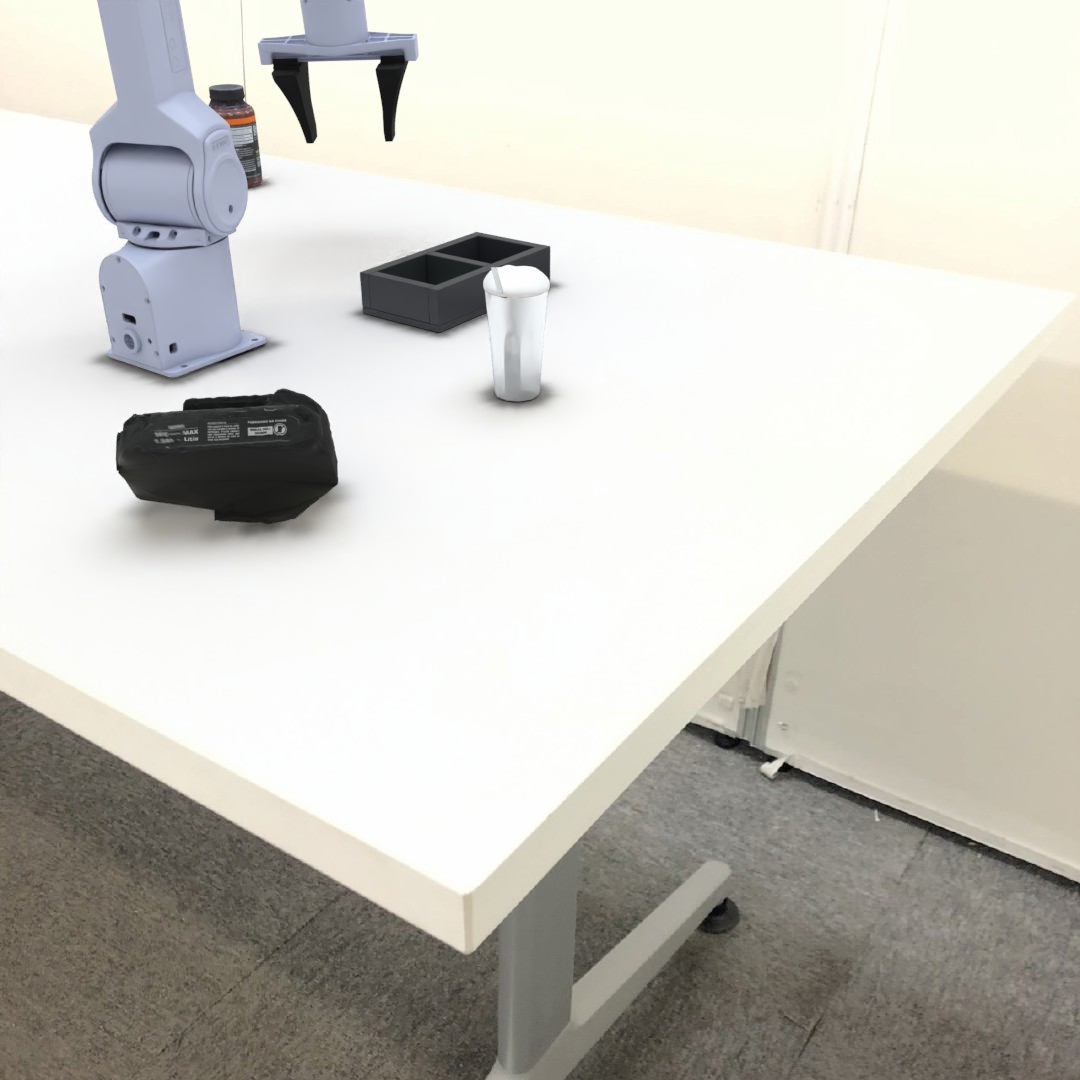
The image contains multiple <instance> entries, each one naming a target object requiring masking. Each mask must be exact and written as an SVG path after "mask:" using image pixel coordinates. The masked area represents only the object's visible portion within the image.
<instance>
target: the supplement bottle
mask: <svg viewBox="0 0 1080 1080" xmlns="http://www.w3.org/2000/svg"><path fill="white" fill-rule="evenodd" d="M208 93H209V98H210V100H209V103H208V106H209V107H211V108H212V109H213V110H214V111H215V112H216V113H218V114H219V115H220V116H221V117H222V118H223V119H224V120H225V121H226V122H227V123H228V124H229V125H230V129H231V136H232V140H233V144H234V148H235V151H236V154H237V156H238V158H239V160H240V163H241V164H242V166H243V168H244V171H245V174H246V179H247V185H248V189H249V188H253V187H255V186H258V185H260V184H262V181H263V171H262V161H261V153H260V143H259V136H258V135H259V134H258V127H257V119H256V113H255V109H254V107H252V105H250V104H249V103H248V102H246V101H245V100H244V99H245V97H246V94H245V90H244V86H243V85H241V84H236V83H223V84H222V83H221V84H213V85H211V86H209V87H208Z"/></svg>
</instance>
